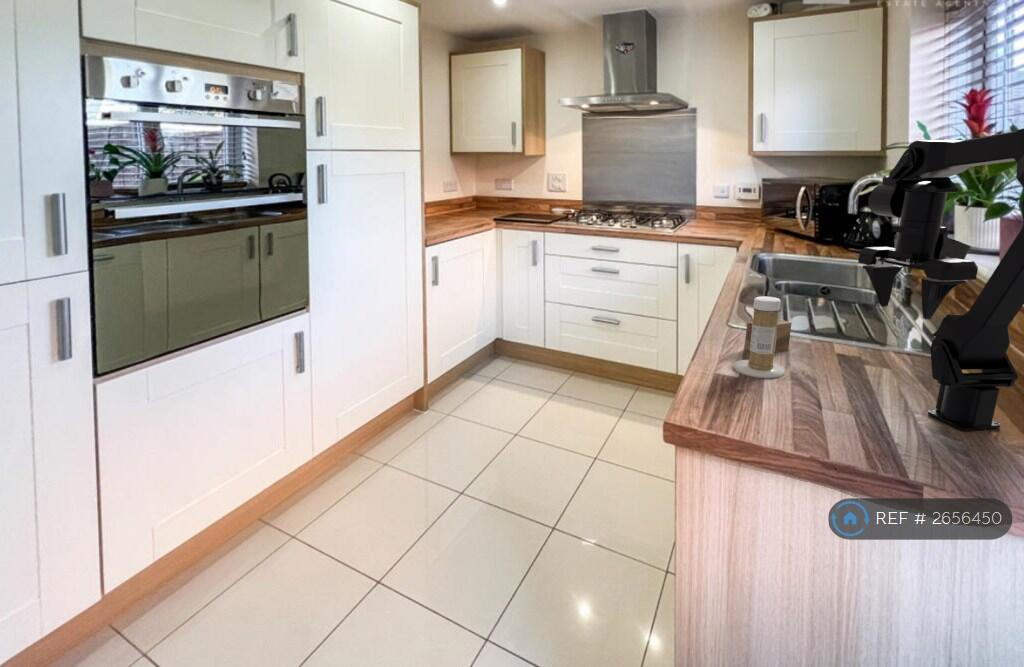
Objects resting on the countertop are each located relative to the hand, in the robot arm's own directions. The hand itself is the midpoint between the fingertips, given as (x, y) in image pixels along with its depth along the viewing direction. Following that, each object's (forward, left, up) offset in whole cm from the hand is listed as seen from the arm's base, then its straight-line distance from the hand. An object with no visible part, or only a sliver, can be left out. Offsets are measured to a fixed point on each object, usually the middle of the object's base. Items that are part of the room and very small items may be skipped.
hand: (904, 312), depth 100 cm
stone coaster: (+11, +19, -13) cm, 26 cm away
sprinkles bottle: (+11, +19, -13) cm, 25 cm away
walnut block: (+22, +10, -13) cm, 28 cm away
